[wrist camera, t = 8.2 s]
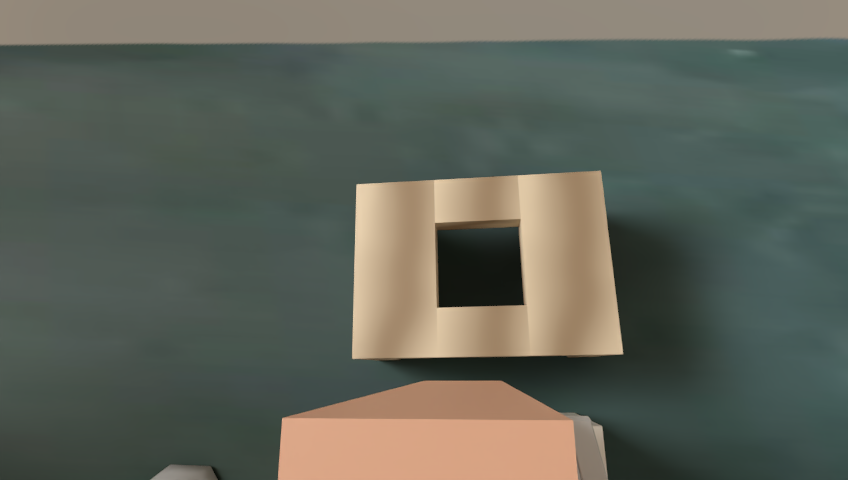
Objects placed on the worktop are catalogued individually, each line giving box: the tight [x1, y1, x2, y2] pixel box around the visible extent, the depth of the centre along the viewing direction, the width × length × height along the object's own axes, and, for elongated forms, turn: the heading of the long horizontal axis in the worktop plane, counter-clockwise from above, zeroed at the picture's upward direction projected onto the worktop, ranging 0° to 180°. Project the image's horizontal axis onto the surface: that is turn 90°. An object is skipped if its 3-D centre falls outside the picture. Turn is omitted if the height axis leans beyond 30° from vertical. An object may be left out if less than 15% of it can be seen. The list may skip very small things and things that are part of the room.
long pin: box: [278, 381, 578, 480], centre depth 12 cm, size 3×3×15 cm
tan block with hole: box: [352, 171, 623, 360], centre depth 29 cm, size 14×10×7 cm
